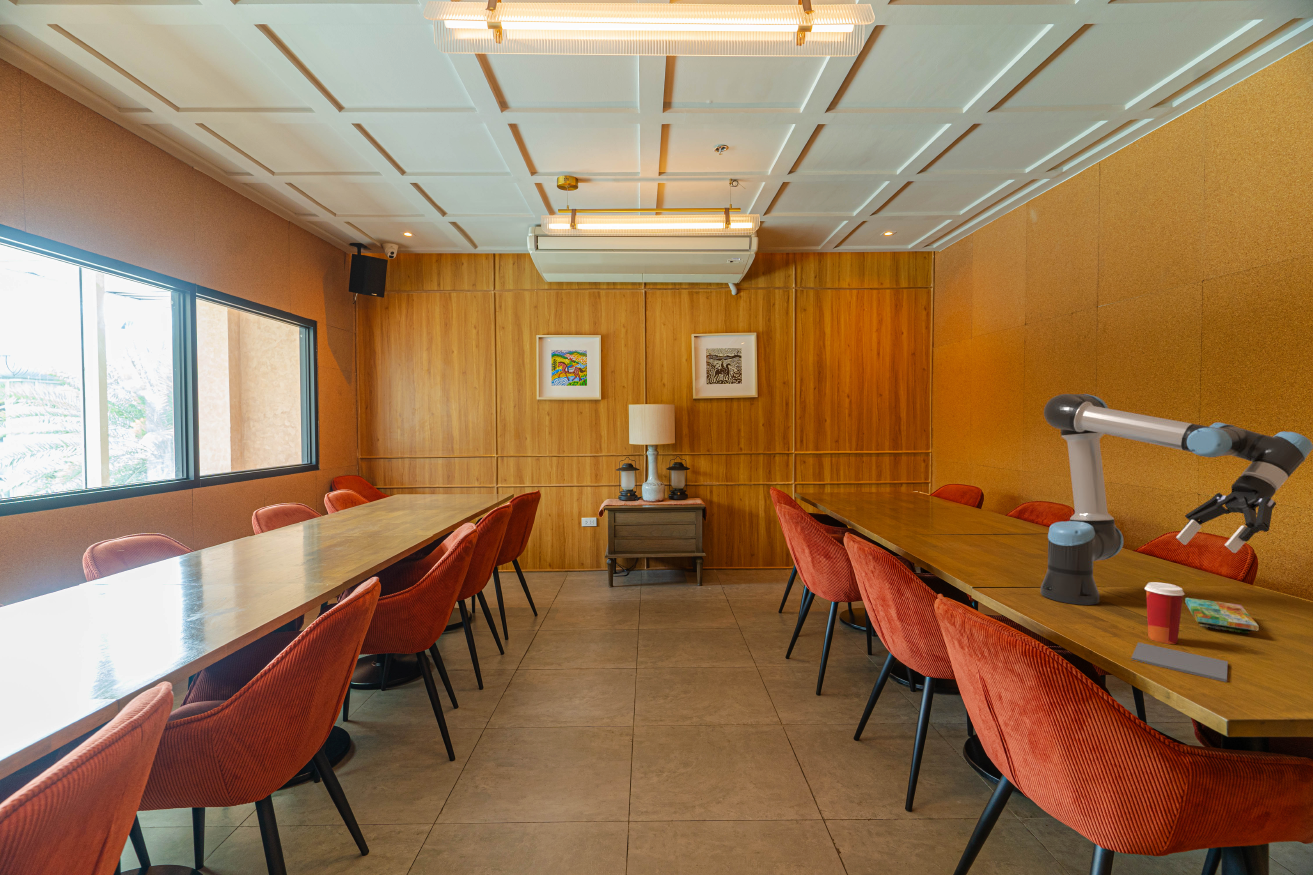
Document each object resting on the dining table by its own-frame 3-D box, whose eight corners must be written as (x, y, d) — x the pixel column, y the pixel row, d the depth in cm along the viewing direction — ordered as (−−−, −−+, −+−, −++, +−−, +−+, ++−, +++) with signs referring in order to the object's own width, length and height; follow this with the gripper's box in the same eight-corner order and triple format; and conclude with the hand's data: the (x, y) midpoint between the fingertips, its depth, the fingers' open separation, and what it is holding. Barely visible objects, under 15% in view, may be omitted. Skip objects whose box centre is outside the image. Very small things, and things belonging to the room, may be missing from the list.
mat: (1131, 659, 136) (1131, 657, 136) (1138, 644, 146) (1138, 642, 146) (1226, 682, 125) (1226, 679, 125) (1227, 663, 134) (1227, 661, 134)
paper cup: (1173, 636, 151) (1175, 583, 151) (1189, 647, 144) (1191, 591, 143) (1136, 632, 154) (1138, 580, 153) (1150, 643, 146) (1152, 588, 146)
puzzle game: (1240, 602, 165) (1259, 622, 149) (1240, 618, 166) (1258, 640, 149) (1185, 594, 172) (1197, 613, 156) (1184, 610, 172) (1196, 630, 156)
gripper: (1324, 496, 137) (1265, 563, 137) (1223, 490, 162) (1173, 547, 162) (1299, 475, 138) (1241, 542, 137) (1202, 472, 163) (1152, 529, 162)
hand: (1204, 544), depth 150 cm, fingers open, 13 cm apart
